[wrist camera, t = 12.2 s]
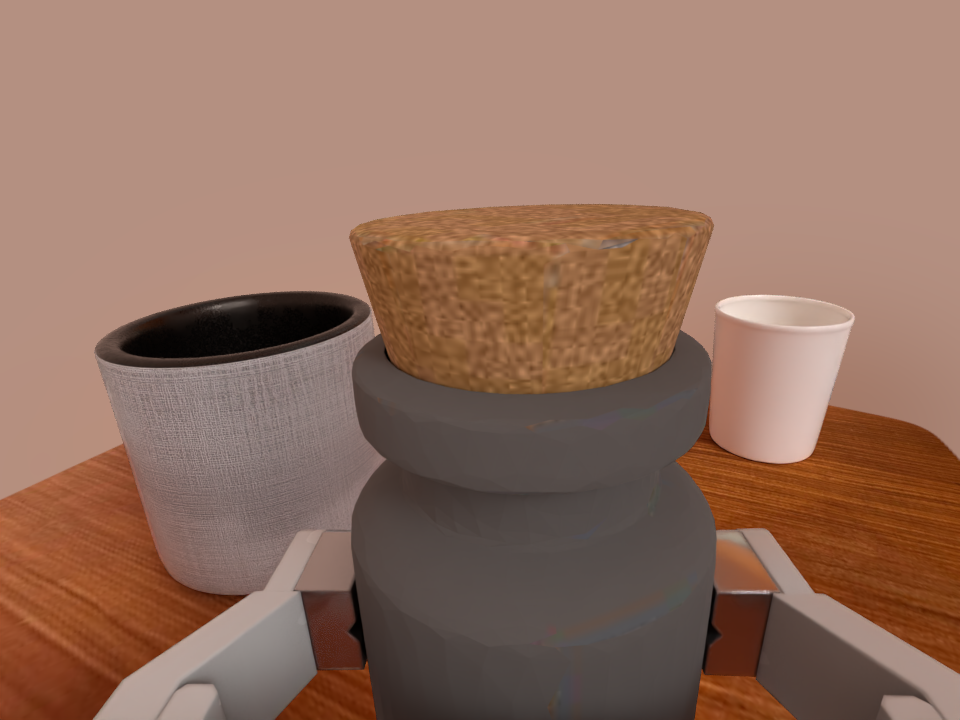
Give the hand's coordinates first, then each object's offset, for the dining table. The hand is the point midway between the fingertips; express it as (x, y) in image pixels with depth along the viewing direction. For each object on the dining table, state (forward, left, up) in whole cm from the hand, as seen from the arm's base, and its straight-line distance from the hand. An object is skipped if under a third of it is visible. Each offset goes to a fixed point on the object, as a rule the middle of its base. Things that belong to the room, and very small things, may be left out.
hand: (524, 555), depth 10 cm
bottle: (-1, +1, -9) cm, 9 cm away
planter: (+25, -12, -17) cm, 33 cm away
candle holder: (-4, -40, -17) cm, 43 cm away
